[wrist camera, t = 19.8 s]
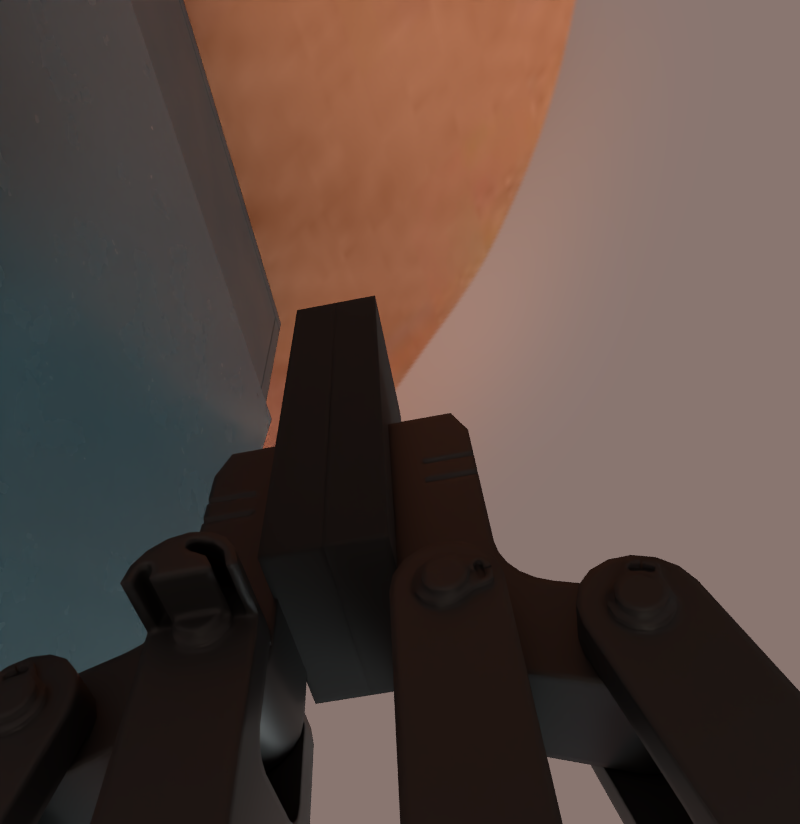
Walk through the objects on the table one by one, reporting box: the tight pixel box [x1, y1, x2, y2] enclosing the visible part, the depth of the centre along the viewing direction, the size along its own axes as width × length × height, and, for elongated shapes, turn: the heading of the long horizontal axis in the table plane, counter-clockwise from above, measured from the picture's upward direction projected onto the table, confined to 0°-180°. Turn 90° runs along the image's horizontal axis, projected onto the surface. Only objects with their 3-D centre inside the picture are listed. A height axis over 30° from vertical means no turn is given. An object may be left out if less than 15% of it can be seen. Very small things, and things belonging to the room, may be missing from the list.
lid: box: [0, 0, 271, 673], centre depth 18 cm, size 18×19×1 cm
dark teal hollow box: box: [131, 0, 281, 401], centre depth 30 cm, size 17×19×9 cm
